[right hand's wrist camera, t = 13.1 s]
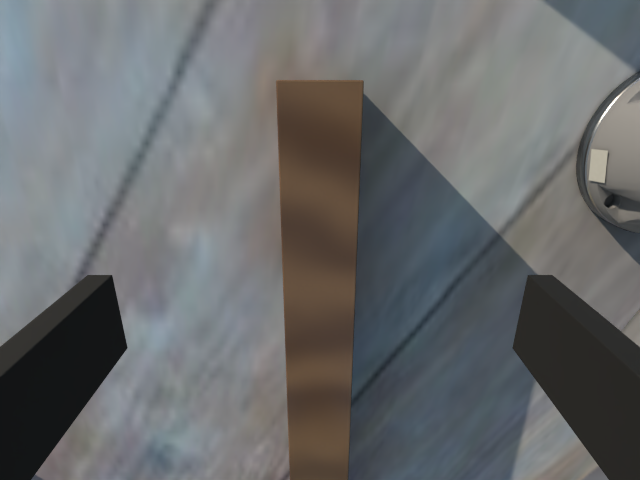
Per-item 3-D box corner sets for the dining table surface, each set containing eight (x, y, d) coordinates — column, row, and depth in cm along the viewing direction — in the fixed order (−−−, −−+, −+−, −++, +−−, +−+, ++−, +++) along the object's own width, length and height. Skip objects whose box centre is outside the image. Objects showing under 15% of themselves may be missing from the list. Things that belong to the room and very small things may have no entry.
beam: (286, 81, 34) (276, 80, 26) (353, 81, 34) (363, 80, 26) (299, 588, 60) (296, 668, 52) (337, 588, 60) (340, 668, 52)
